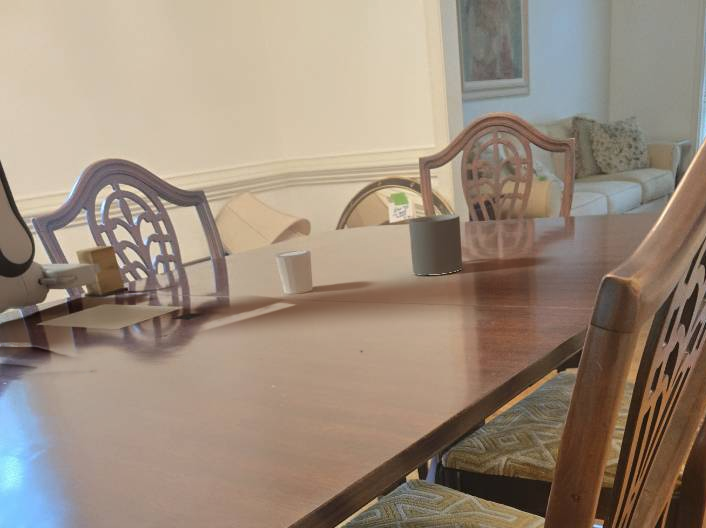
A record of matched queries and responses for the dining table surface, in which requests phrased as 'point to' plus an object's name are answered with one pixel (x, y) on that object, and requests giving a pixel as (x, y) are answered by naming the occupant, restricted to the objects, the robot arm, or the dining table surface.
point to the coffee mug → (435, 244)
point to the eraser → (102, 271)
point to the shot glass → (295, 271)
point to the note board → (110, 316)
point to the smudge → (187, 316)
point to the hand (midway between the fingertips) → (82, 267)
